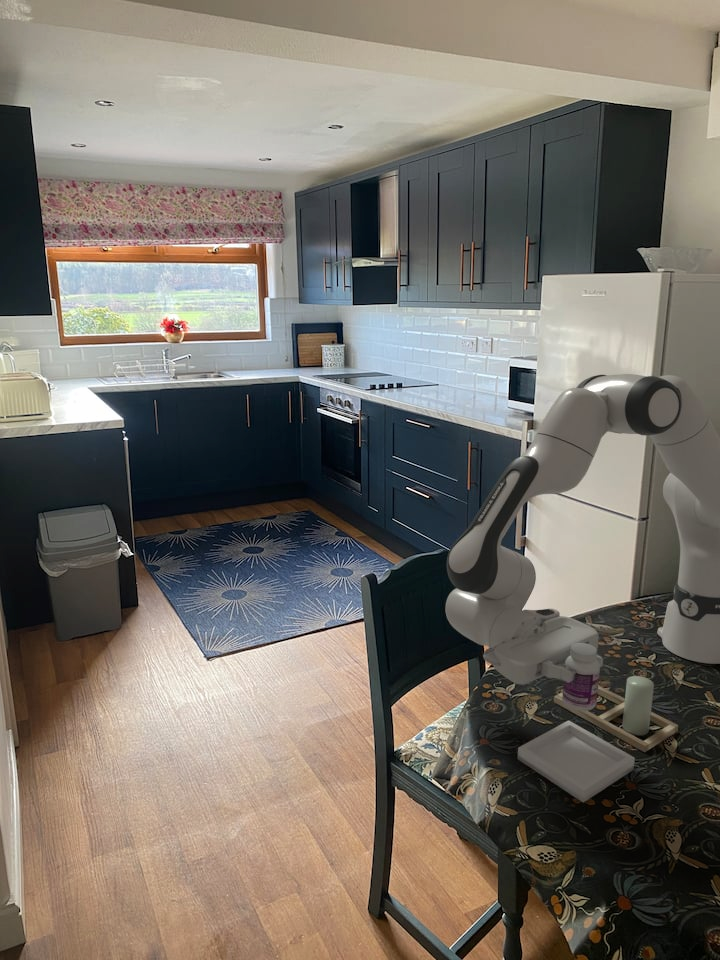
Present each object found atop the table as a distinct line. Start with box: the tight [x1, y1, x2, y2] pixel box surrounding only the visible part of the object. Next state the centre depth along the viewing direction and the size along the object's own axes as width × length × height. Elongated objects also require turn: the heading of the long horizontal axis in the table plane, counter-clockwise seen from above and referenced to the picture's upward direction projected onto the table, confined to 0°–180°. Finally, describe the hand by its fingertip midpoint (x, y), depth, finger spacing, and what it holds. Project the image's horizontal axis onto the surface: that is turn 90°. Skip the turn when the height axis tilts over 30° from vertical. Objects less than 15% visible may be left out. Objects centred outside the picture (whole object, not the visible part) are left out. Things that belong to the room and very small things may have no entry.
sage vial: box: [621, 675, 655, 736], centre depth 125 cm, size 4×4×9 cm
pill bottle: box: [562, 643, 601, 711], centre depth 113 cm, size 5×5×10 cm
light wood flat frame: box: [553, 684, 679, 753], centre depth 130 cm, size 10×19×1 cm, turn 36°
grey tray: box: [517, 720, 636, 804], centre depth 116 cm, size 13×13×2 cm
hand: (587, 670), depth 112 cm, fingers closed on pill bottle, 5 cm apart
